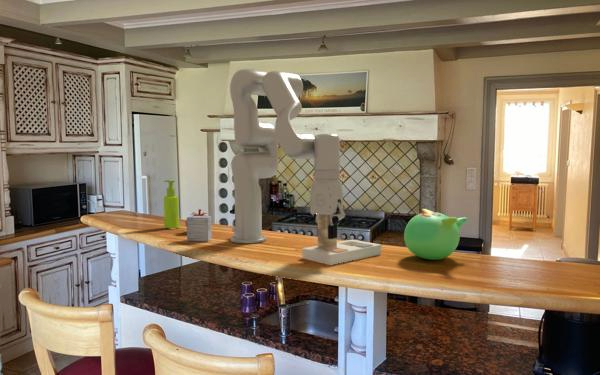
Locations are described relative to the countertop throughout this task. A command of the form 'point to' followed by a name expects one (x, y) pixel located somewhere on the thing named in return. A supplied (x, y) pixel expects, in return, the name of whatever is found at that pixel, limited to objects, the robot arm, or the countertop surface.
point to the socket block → (342, 252)
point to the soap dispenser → (171, 207)
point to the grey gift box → (199, 228)
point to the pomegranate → (197, 215)
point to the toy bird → (433, 234)
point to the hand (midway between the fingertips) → (327, 236)
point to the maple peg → (325, 233)
